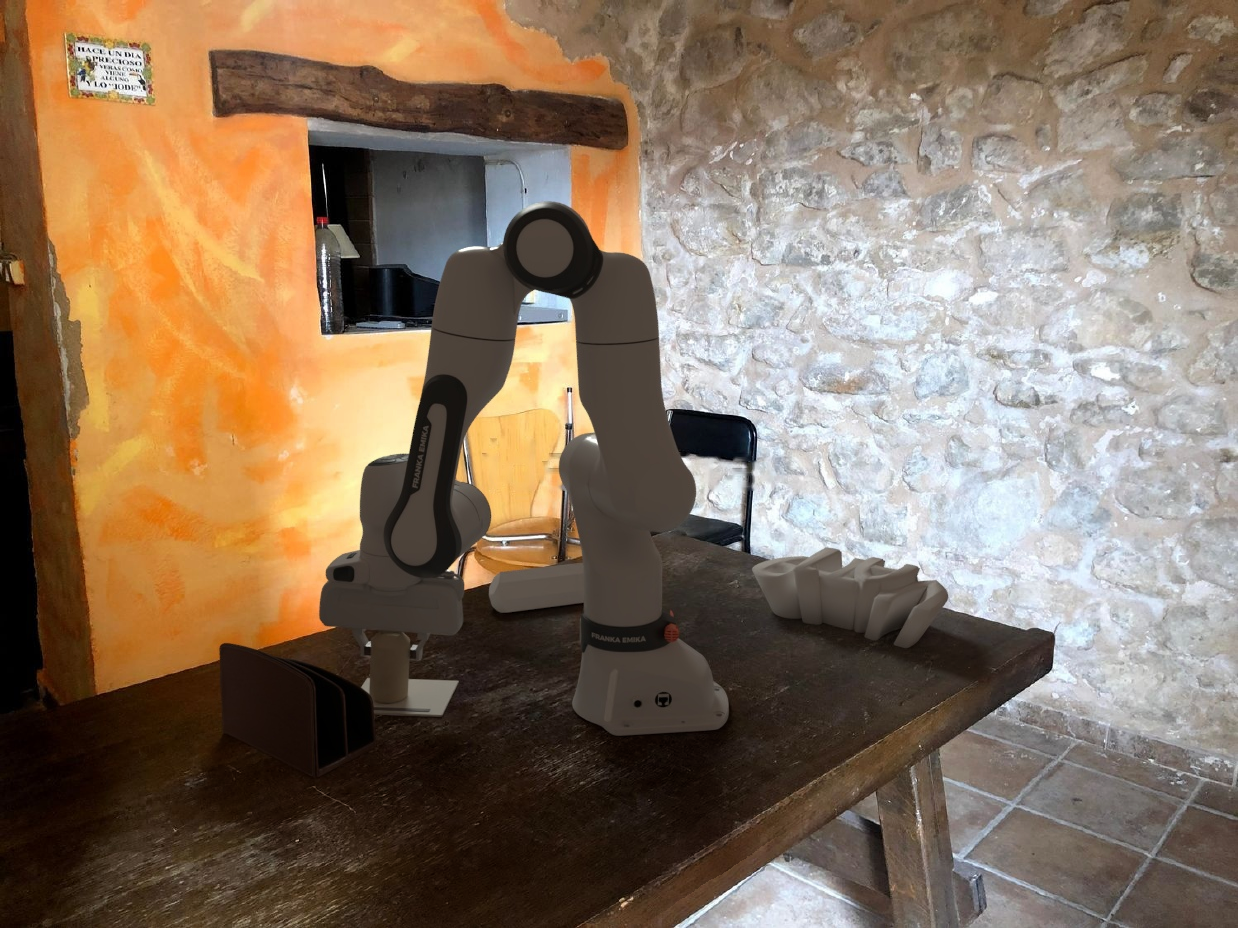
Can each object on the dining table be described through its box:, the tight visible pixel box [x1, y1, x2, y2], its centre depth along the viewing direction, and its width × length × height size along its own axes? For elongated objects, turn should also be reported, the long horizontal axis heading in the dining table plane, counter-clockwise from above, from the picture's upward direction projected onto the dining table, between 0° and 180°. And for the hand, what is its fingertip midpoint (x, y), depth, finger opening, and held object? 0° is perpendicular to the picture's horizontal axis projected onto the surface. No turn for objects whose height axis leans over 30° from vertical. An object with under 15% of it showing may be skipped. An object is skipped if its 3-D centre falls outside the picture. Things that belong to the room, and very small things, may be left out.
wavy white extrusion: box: [751, 546, 949, 649], centre depth 173 cm, size 35×16×10 cm, turn 50°
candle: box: [369, 630, 411, 703], centre depth 143 cm, size 6×6×10 cm
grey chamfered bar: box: [488, 562, 584, 614], centre depth 183 cm, size 7×7×24 cm
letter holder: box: [218, 642, 377, 780], centre depth 130 cm, size 10×20×14 cm, turn 54°
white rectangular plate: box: [360, 677, 460, 718], centre depth 144 cm, size 14×11×1 cm
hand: (391, 657), depth 143 cm, fingers open, 6 cm apart
